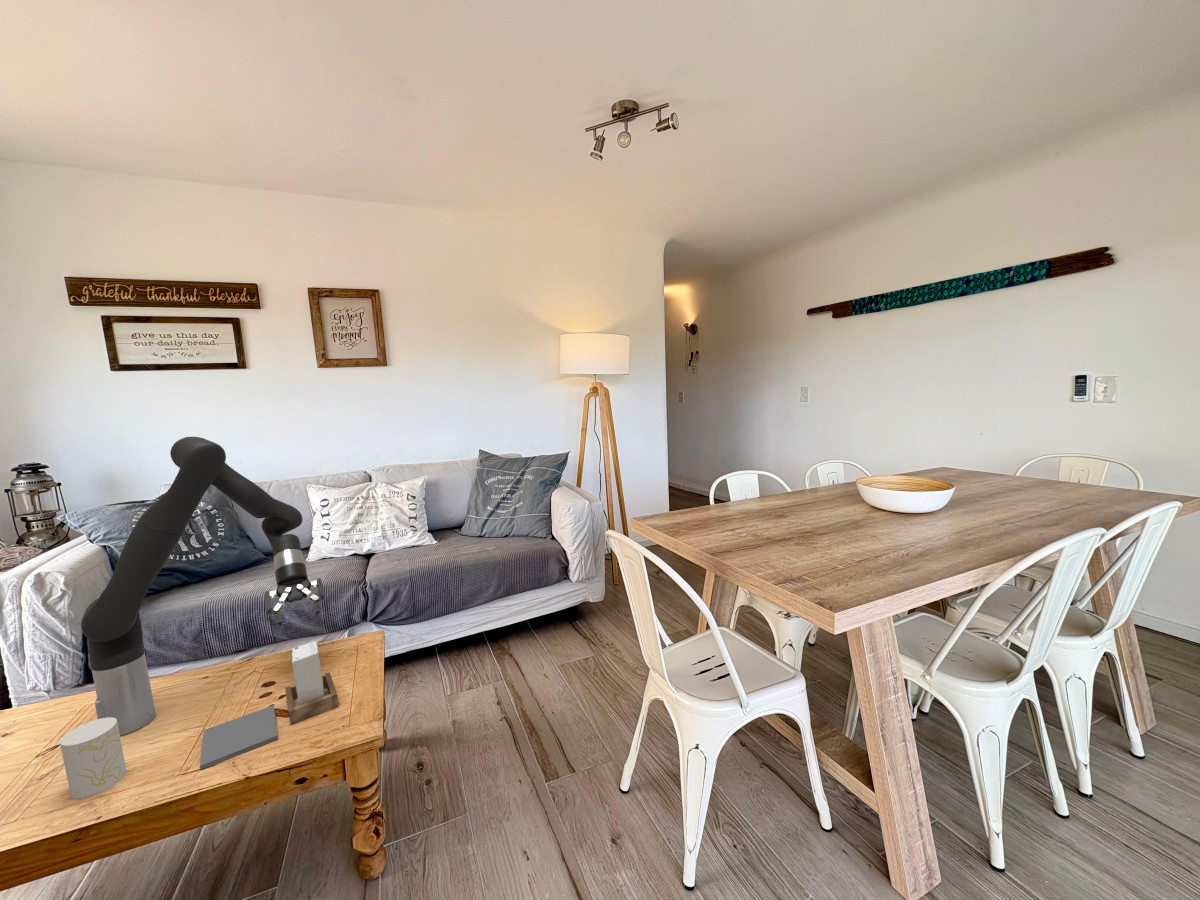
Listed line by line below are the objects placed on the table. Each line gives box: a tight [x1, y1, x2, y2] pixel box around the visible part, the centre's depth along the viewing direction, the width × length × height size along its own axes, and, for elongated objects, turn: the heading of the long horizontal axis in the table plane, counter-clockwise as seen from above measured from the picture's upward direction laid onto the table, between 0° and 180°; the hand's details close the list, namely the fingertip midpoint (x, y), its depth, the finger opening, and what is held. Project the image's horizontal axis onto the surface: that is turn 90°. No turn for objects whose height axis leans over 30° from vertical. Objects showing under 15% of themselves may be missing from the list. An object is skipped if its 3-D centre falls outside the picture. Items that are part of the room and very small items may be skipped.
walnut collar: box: [284, 672, 339, 726], centre depth 123 cm, size 10×12×4 cm
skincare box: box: [291, 641, 325, 706], centre depth 122 cm, size 8×6×15 cm
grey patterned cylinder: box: [59, 717, 127, 800], centre depth 99 cm, size 8×8×12 cm
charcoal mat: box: [199, 704, 279, 771], centre depth 112 cm, size 14×14×1 cm
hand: (299, 619), depth 130 cm, fingers open, 8 cm apart
